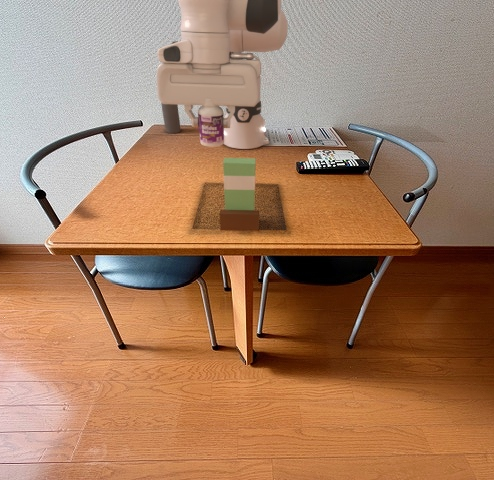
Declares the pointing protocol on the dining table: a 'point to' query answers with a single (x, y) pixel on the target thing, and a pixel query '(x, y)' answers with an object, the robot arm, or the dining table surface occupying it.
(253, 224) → the mat
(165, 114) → the bottle
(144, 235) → the dining table surface
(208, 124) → the pill bottle
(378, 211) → the dining table surface
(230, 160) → the block
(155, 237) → the dining table surface
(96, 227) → the dining table surface
